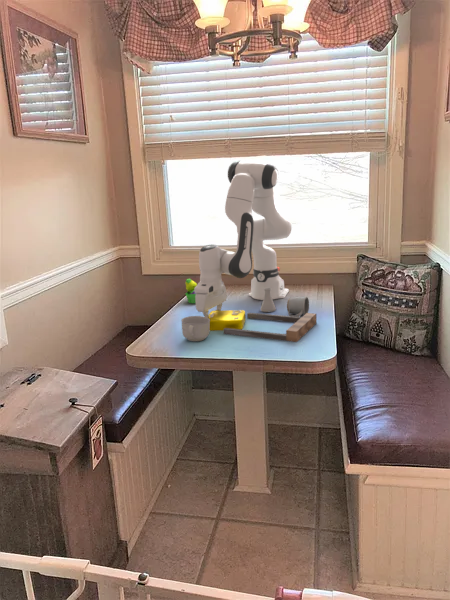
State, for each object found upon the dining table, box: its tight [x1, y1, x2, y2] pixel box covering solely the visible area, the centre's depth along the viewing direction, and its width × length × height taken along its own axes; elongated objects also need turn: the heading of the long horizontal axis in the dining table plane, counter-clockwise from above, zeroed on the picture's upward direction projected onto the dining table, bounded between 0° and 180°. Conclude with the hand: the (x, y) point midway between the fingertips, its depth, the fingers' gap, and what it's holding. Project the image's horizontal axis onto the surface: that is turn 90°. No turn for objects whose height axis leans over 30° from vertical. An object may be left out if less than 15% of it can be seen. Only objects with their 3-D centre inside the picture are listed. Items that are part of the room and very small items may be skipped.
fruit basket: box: [184, 278, 198, 304], centre depth 251 cm, size 11×9×11 cm
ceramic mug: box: [286, 296, 310, 317], centre depth 219 cm, size 11×8×8 cm
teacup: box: [181, 315, 210, 342], centre depth 194 cm, size 14×11×8 cm
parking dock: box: [223, 312, 317, 343], centre depth 203 cm, size 24×30×4 cm
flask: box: [259, 288, 277, 313], centre depth 228 cm, size 7×7×10 cm
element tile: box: [207, 309, 247, 332], centre depth 211 cm, size 15×15×5 cm
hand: (213, 316), depth 215 cm, fingers open, 8 cm apart
